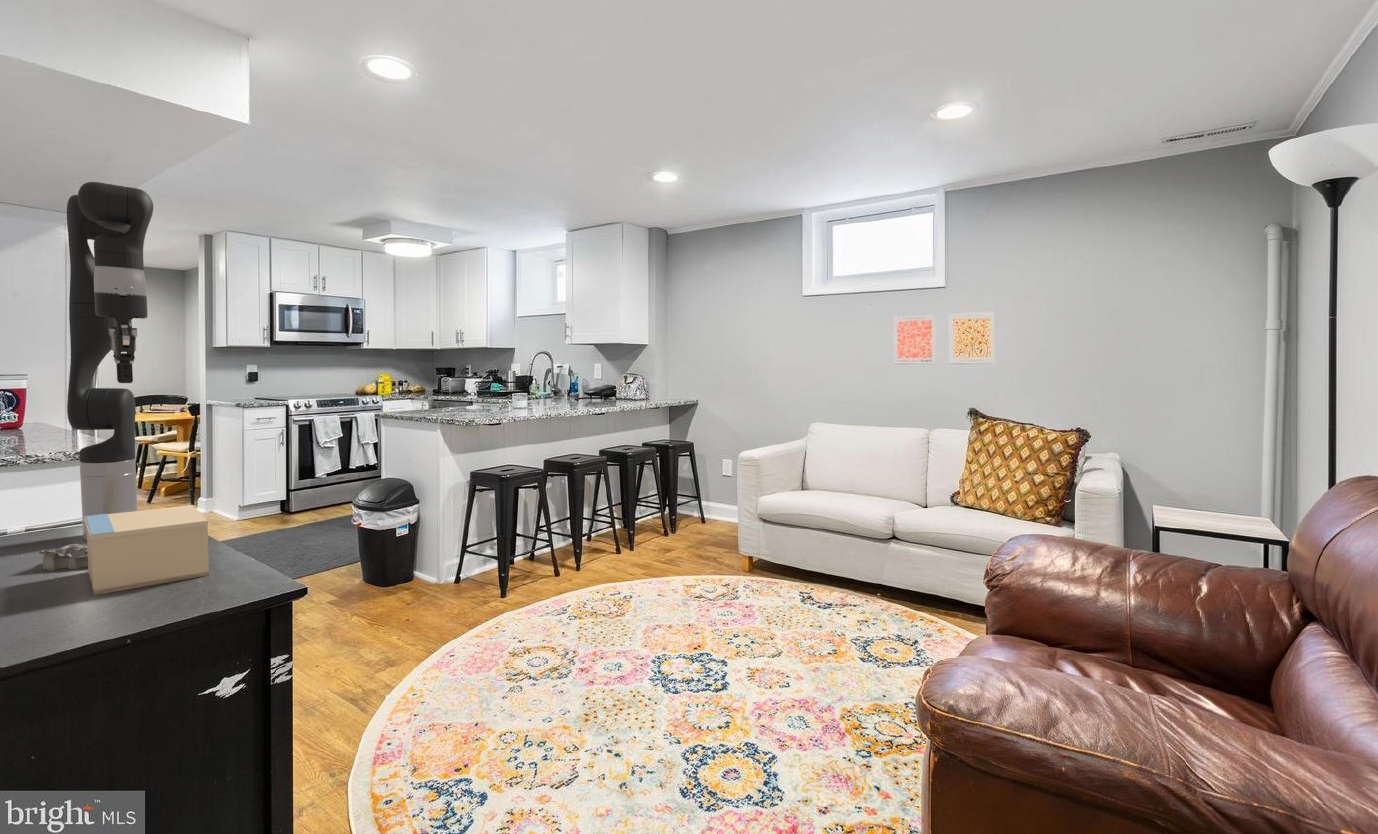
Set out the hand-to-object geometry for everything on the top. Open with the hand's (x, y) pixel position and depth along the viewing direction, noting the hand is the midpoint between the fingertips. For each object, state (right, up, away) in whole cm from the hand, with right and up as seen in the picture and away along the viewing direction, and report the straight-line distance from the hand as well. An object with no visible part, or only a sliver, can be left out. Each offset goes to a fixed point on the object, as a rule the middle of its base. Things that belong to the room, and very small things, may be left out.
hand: (125, 382), depth 124 cm
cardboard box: (+7, -36, -3) cm, 37 cm away
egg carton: (-9, -36, +1) cm, 37 cm away
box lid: (+8, -27, -4) cm, 28 cm away
